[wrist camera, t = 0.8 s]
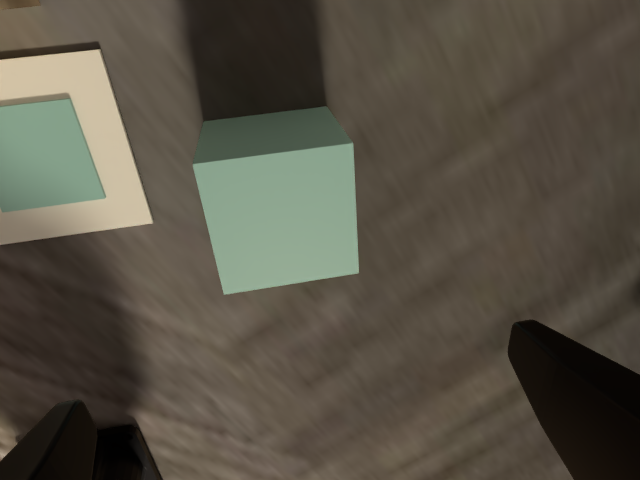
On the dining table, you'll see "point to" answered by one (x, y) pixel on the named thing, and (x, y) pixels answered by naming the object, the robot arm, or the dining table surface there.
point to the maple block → (18, 4)
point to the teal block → (278, 198)
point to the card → (64, 150)
